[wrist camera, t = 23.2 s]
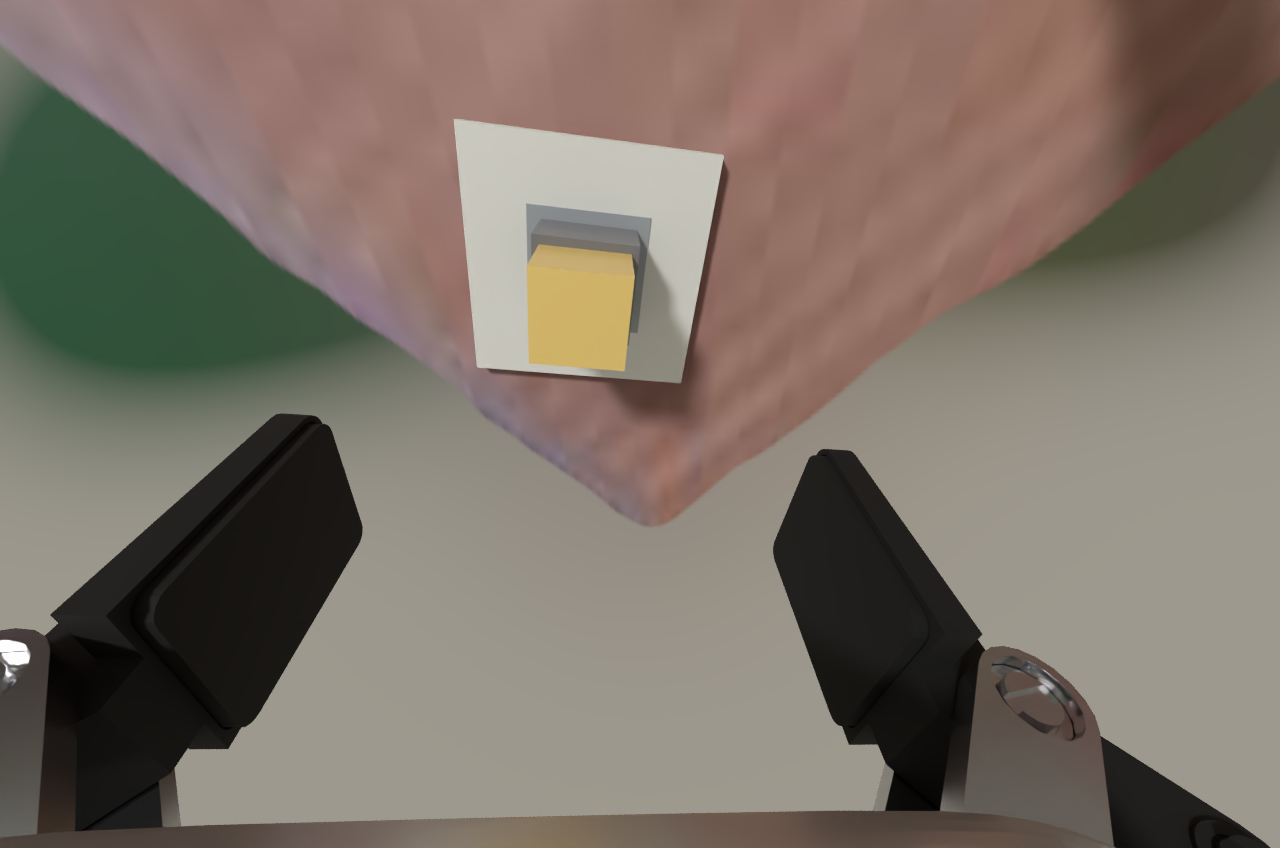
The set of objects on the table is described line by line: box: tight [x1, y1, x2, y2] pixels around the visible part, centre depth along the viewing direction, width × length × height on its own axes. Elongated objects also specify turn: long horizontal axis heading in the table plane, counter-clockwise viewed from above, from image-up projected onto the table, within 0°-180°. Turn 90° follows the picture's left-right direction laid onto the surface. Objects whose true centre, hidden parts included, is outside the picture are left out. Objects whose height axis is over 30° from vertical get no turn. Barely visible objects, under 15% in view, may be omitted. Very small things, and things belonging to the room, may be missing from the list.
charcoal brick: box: [531, 219, 640, 345], centre depth 33 cm, size 7×7×5 cm
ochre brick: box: [527, 244, 635, 371], centre depth 29 cm, size 6×6×5 cm
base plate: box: [454, 119, 724, 383], centre depth 36 cm, size 18×18×1 cm
